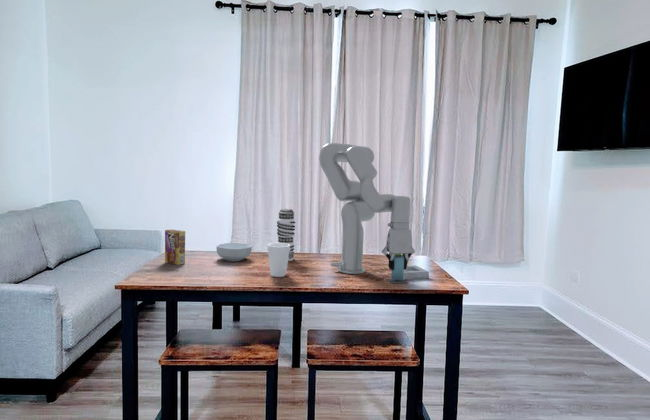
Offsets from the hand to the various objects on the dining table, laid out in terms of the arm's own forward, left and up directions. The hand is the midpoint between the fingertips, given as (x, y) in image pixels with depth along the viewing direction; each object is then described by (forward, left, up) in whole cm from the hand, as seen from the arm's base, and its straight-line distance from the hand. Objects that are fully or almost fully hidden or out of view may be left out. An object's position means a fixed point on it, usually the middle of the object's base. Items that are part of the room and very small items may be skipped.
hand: (397, 268), depth 182 cm
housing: (+10, +8, -6) cm, 14 cm away
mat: (0, 0, -5) cm, 5 cm away
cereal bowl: (-63, +50, -6) cm, 81 cm away
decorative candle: (-38, +48, -6) cm, 61 cm away
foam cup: (-47, +18, -6) cm, 51 cm away
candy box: (-90, +46, -6) cm, 101 cm away
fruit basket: (+12, +23, -6) cm, 27 cm away
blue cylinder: (0, 0, -4) cm, 4 cm away
